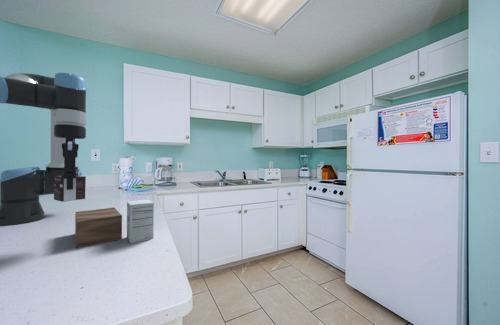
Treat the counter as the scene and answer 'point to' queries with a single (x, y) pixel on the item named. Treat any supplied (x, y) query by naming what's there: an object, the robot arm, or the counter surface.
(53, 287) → the counter surface
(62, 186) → the box
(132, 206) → the supplement box
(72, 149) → the robot arm
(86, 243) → the walnut stand
